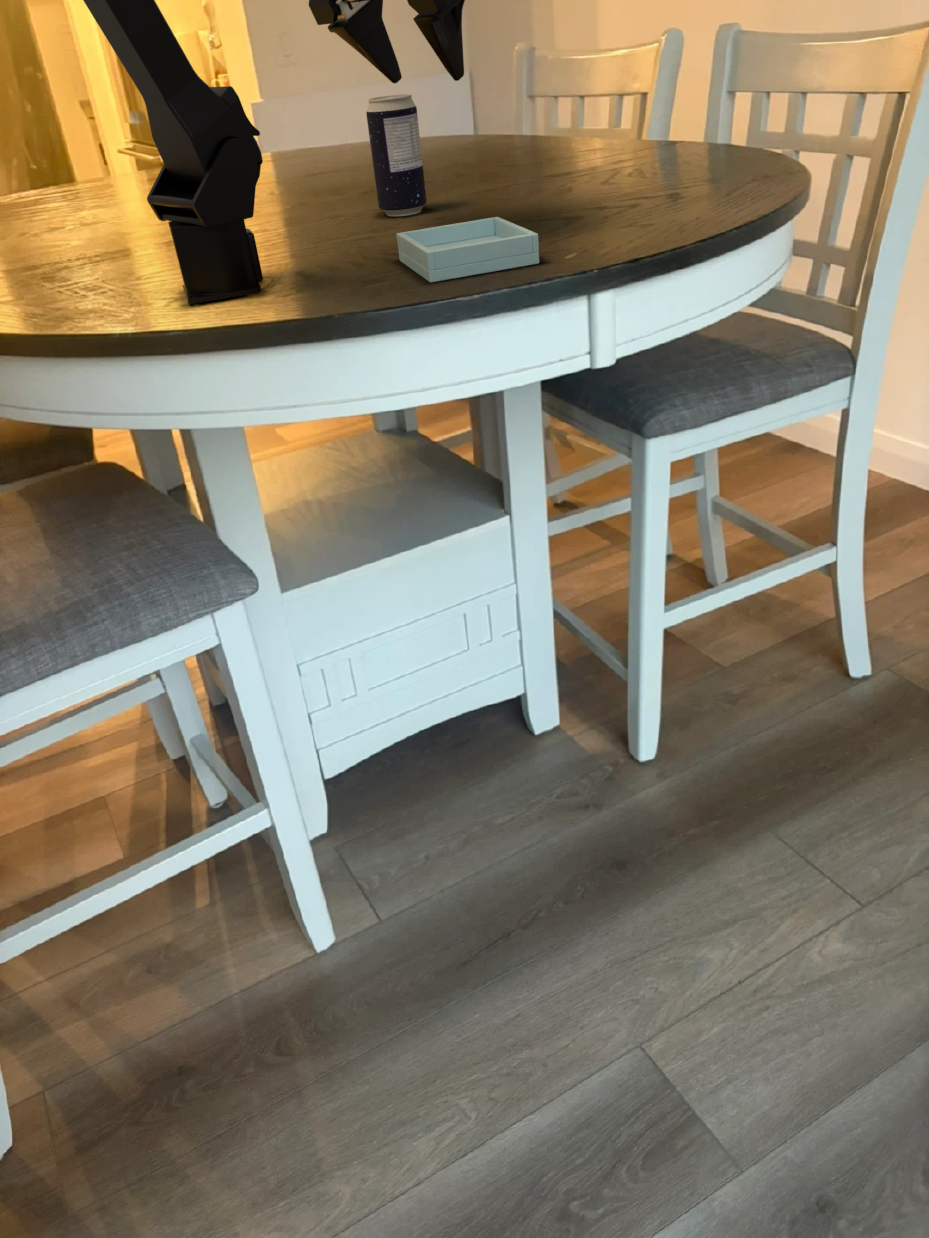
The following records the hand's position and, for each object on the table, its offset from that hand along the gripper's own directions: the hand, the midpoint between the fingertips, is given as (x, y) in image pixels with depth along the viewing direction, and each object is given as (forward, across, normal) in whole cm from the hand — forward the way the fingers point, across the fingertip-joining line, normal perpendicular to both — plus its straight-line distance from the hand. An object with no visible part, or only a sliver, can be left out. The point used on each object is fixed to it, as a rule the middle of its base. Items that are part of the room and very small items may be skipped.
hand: (427, 80), depth 89 cm
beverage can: (+15, +12, +1) cm, 19 cm away
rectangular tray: (+9, -13, +14) cm, 21 cm away
